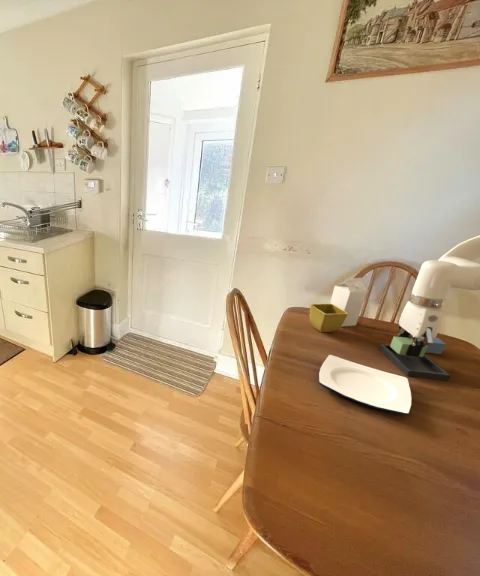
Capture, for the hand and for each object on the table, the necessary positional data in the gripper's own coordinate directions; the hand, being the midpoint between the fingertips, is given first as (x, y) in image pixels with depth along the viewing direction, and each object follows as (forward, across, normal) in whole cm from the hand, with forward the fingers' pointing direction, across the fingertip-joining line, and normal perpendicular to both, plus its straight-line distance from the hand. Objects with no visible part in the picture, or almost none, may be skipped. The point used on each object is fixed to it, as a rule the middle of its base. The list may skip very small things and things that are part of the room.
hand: (406, 350), depth 103 cm
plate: (+3, -20, +21) cm, 30 cm away
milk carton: (+3, +24, +9) cm, 25 cm away
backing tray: (+3, -4, 0) cm, 4 cm away
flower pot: (+3, +16, +18) cm, 24 cm away
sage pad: (0, 0, 0) cm, 0 cm away
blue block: (+3, +8, -10) cm, 13 cm away
